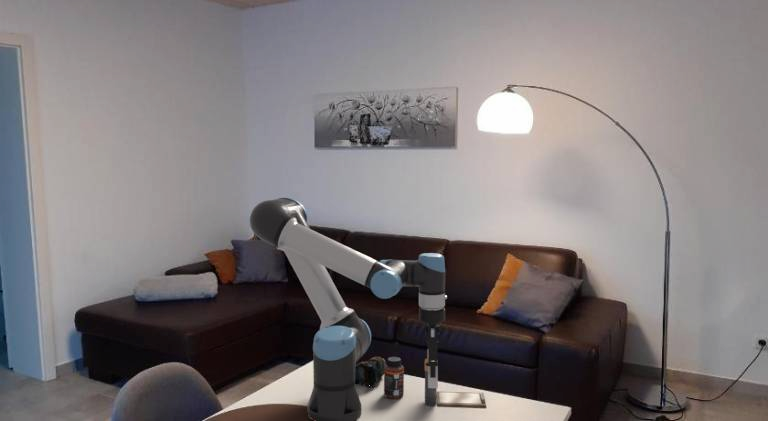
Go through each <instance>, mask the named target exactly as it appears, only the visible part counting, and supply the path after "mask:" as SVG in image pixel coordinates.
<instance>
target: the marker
mask: <svg viewBox="0 0 768 421" xmlns="http://www.w3.org/2000/svg"><path fill="white" fill-rule="evenodd" d="M430 362H435V361H430ZM426 363H428V358H425V359H424V405H426V406H429V407H433V406H437V391H438V390H437V389H438V388H428V366H426ZM437 363H438V359H437ZM438 364H439V363H438Z"/></svg>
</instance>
